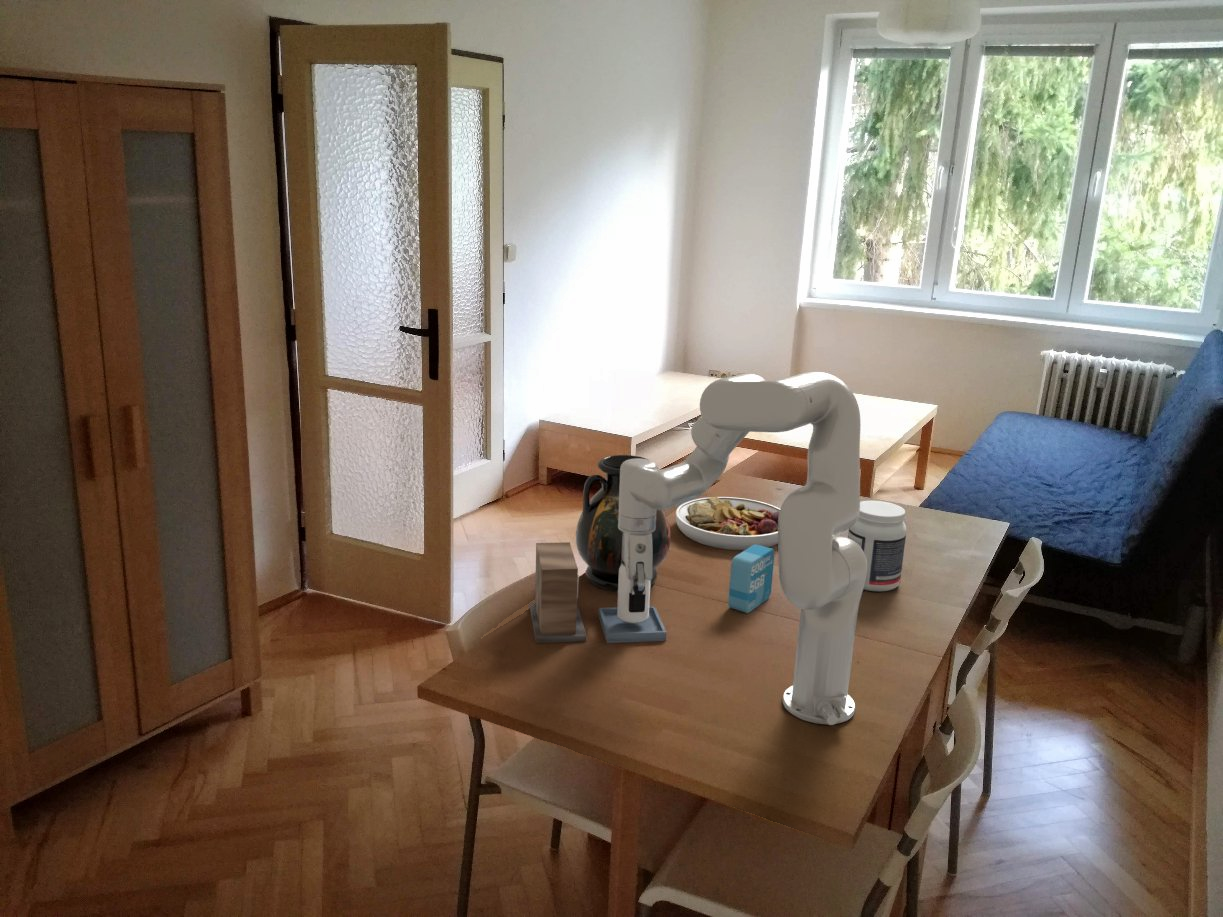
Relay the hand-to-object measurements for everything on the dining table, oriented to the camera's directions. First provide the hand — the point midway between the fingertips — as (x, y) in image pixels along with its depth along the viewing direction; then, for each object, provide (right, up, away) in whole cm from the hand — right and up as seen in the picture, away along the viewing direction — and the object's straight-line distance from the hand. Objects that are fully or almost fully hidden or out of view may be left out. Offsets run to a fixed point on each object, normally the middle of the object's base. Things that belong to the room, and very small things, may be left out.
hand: (633, 603), depth 201 cm
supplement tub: (+56, 0, +29) cm, 63 cm away
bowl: (+27, +10, +58) cm, 64 cm away
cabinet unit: (-16, -5, +2) cm, 16 cm away
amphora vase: (-2, +2, +26) cm, 26 cm away
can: (0, -3, +1) cm, 3 cm away
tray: (0, -5, +2) cm, 6 cm away
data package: (+26, -3, +16) cm, 30 cm away
